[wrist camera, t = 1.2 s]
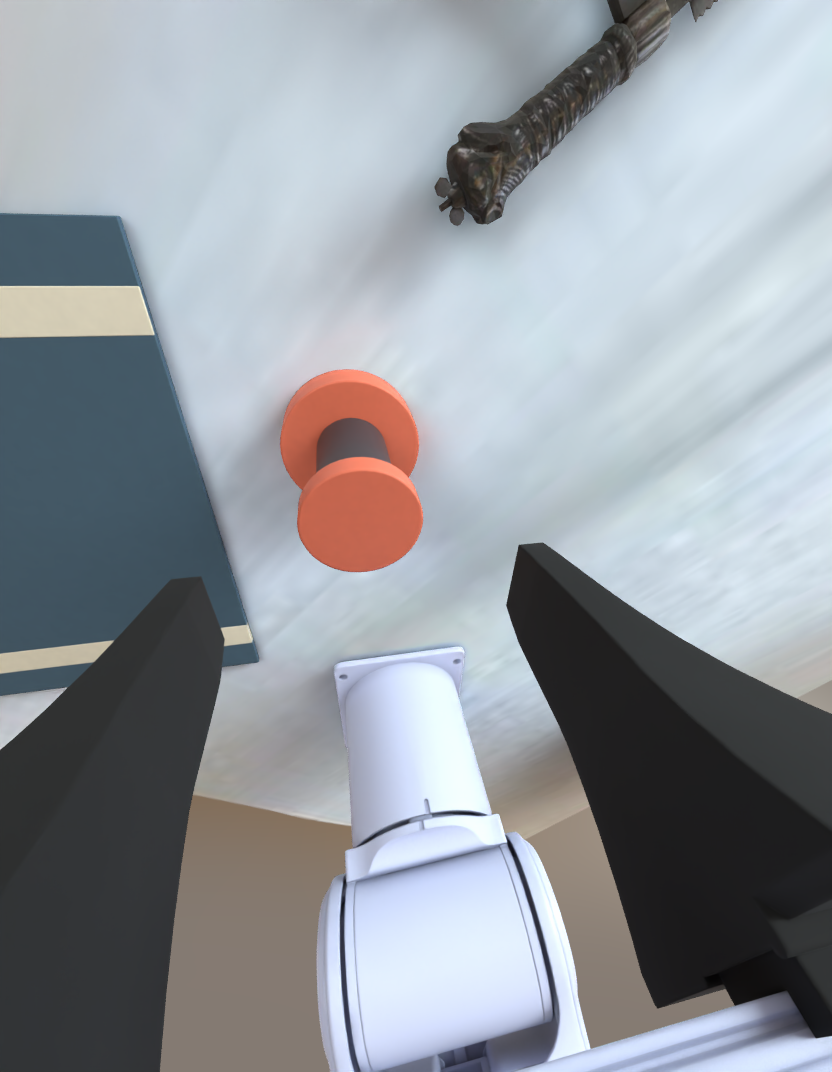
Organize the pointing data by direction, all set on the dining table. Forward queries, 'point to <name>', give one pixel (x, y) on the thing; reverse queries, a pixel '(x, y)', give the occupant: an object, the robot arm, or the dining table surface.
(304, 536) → the orange thread spool
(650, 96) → the dining table surface
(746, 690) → the robot arm
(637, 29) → the hacksaw
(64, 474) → the tea towel
